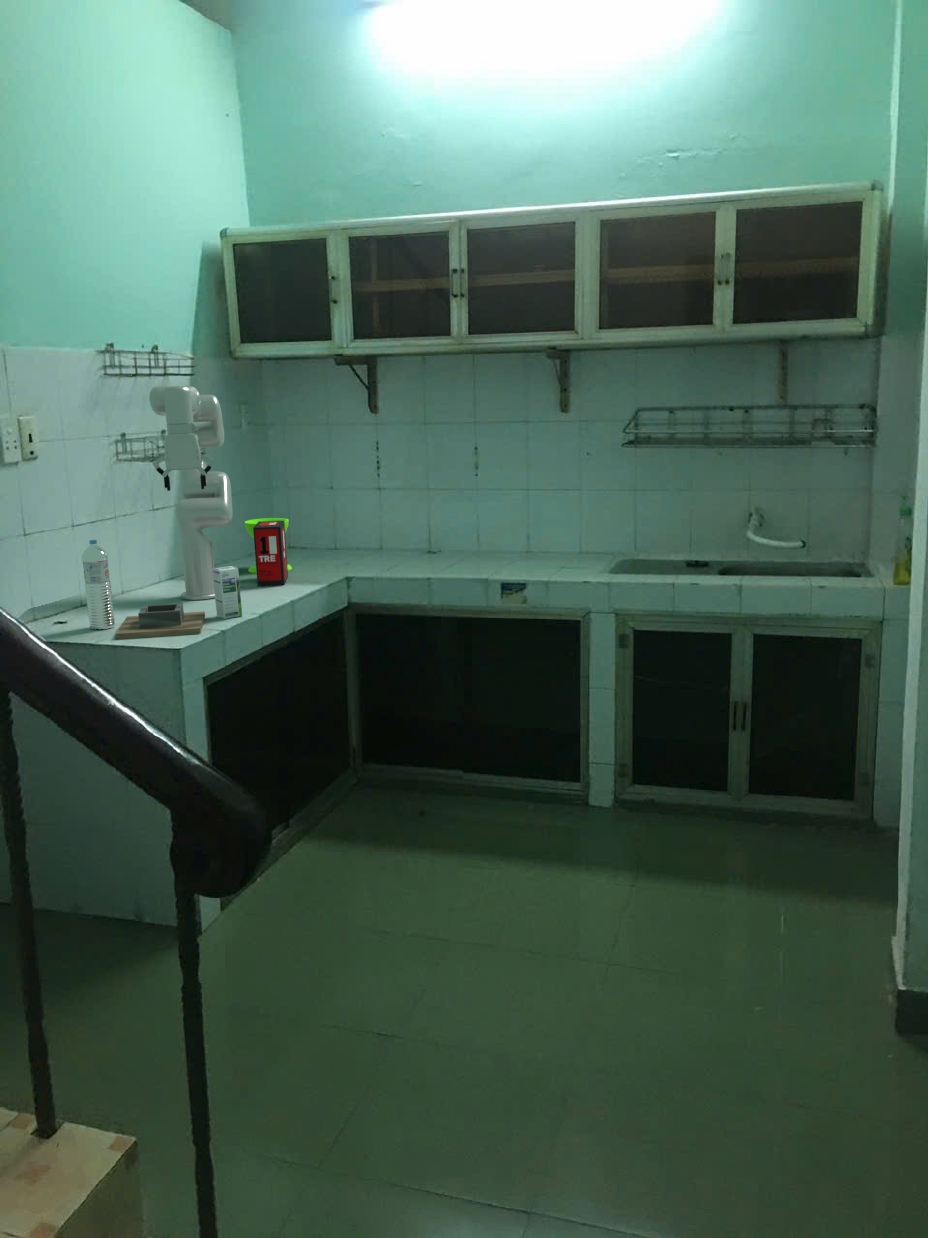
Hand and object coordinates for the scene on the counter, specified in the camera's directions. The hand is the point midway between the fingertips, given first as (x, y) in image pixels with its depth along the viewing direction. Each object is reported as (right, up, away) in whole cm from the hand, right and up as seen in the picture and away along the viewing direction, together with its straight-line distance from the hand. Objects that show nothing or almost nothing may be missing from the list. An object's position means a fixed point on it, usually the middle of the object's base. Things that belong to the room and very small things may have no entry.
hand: (185, 489), depth 294 cm
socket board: (-4, -40, -10) cm, 42 cm away
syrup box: (+12, -37, +2) cm, 39 cm away
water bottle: (-21, -40, -8) cm, 46 cm away
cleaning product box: (+15, -25, +54) cm, 61 cm away
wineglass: (+10, -20, +77) cm, 80 cm away
